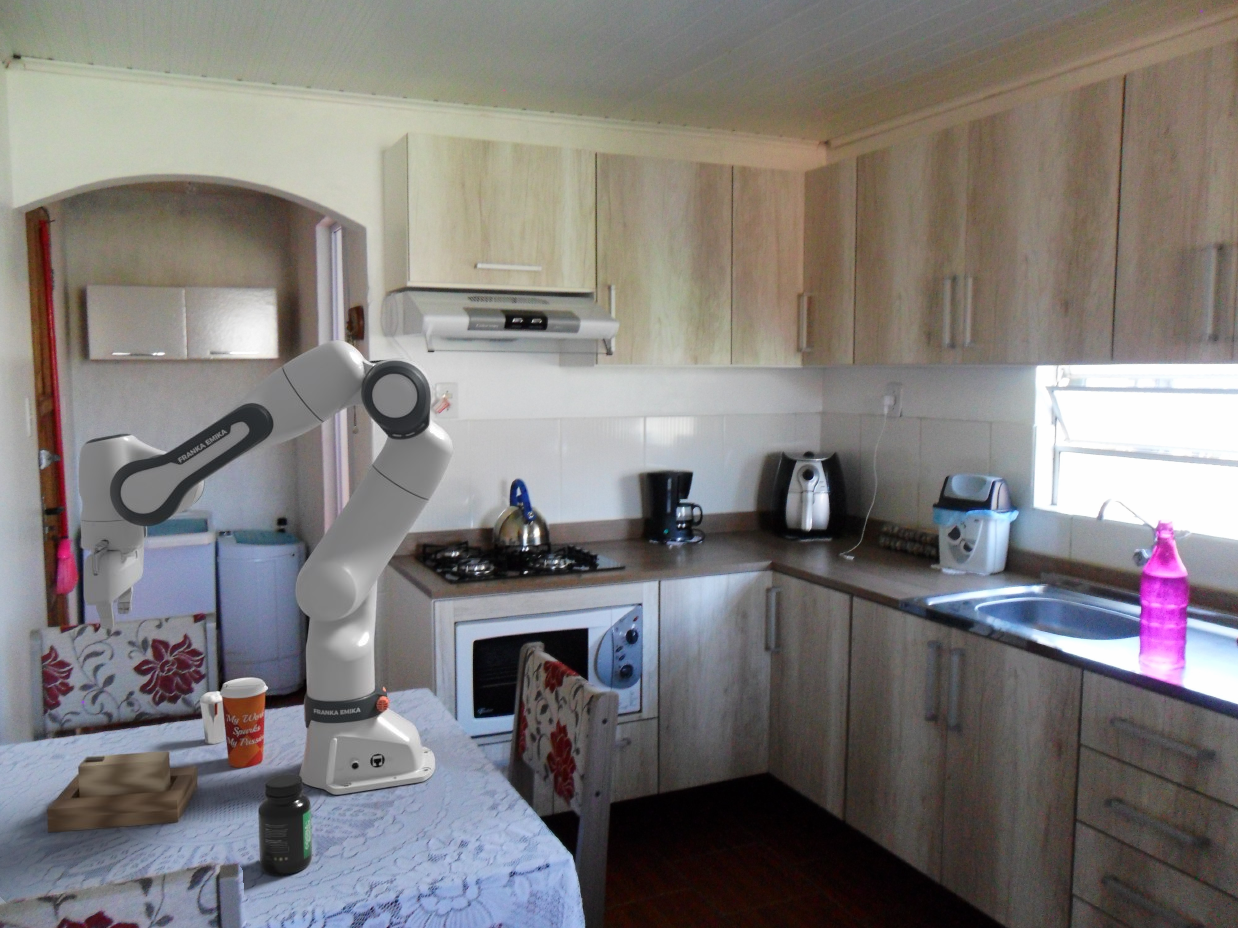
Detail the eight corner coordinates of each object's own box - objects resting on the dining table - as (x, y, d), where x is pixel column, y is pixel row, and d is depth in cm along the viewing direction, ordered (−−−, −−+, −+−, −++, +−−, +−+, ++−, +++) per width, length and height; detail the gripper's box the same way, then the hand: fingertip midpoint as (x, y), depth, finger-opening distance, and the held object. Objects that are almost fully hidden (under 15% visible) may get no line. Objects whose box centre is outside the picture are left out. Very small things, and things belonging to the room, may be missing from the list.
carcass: (197, 786, 161) (196, 759, 161) (178, 821, 149) (176, 793, 148) (78, 795, 158) (77, 767, 158) (48, 832, 145) (46, 802, 145)
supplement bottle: (321, 863, 136) (319, 779, 135) (276, 881, 131) (273, 795, 130) (295, 847, 141) (293, 766, 140) (250, 865, 136) (247, 781, 135)
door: (170, 787, 156) (169, 748, 156) (164, 797, 152) (162, 757, 152) (88, 793, 154) (86, 753, 153) (80, 804, 150) (77, 763, 149)
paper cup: (224, 773, 167) (221, 692, 165) (220, 757, 173) (217, 680, 172) (273, 764, 170) (270, 686, 169) (266, 749, 177) (264, 673, 176)
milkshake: (226, 745, 179) (224, 692, 178) (197, 745, 179) (195, 691, 178) (236, 736, 183) (234, 684, 183) (207, 736, 184) (205, 683, 183)
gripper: (115, 545, 148) (119, 635, 149) (149, 525, 168) (153, 604, 169) (69, 547, 147) (74, 638, 148) (109, 526, 167) (113, 606, 168)
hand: (116, 620), depth 159 cm, fingers open, 8 cm apart
